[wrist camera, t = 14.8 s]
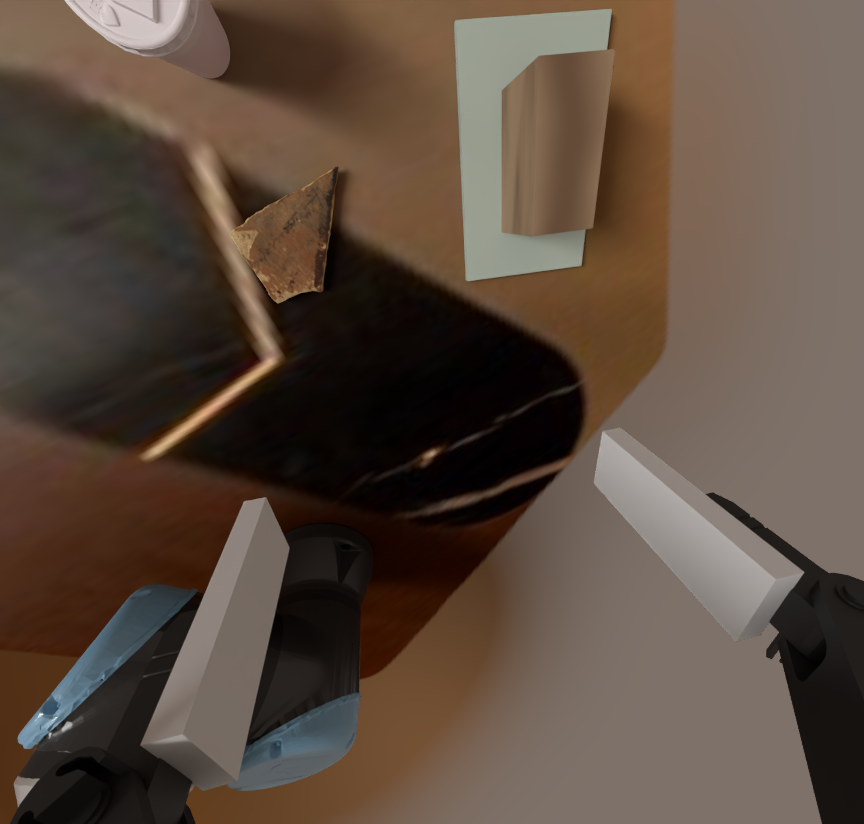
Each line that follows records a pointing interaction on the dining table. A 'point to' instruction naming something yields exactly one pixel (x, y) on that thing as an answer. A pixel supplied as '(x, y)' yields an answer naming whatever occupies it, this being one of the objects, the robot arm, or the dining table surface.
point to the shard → (291, 239)
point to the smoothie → (162, 31)
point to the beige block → (554, 142)
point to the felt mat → (482, 132)
